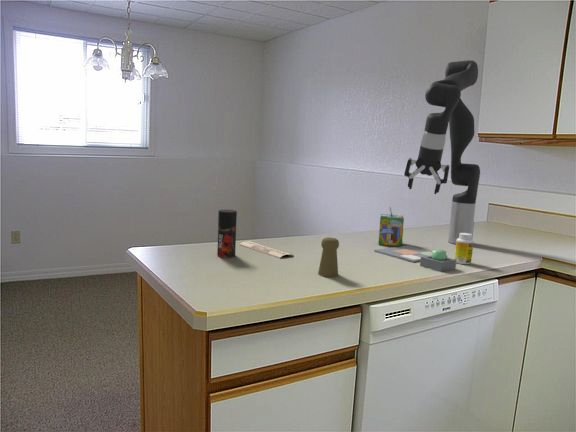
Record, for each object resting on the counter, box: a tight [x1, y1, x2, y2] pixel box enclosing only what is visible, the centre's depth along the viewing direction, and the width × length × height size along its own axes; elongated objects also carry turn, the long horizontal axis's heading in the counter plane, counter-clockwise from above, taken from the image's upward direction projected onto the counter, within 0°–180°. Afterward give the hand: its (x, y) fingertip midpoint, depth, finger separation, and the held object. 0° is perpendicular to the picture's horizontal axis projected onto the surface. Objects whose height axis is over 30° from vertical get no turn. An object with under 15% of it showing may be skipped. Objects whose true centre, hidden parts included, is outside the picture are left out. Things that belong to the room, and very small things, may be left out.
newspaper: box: [239, 240, 295, 259], centre depth 167 cm, size 24×7×2 cm, turn 40°
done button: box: [431, 249, 447, 261], centre depth 155 cm, size 4×4×4 cm
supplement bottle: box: [453, 233, 474, 265], centre depth 163 cm, size 6×6×10 cm
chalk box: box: [378, 207, 405, 247], centre depth 189 cm, size 9×9×15 cm
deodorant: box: [216, 209, 238, 259], centre depth 156 cm, size 6×6×15 cm
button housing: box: [419, 255, 457, 273], centre depth 155 cm, size 8×8×3 cm
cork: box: [317, 237, 340, 278], centre depth 139 cm, size 6×6×11 cm
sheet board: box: [373, 245, 448, 263], centre depth 173 cm, size 19×18×1 cm
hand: (422, 190), depth 164 cm, fingers open, 8 cm apart
